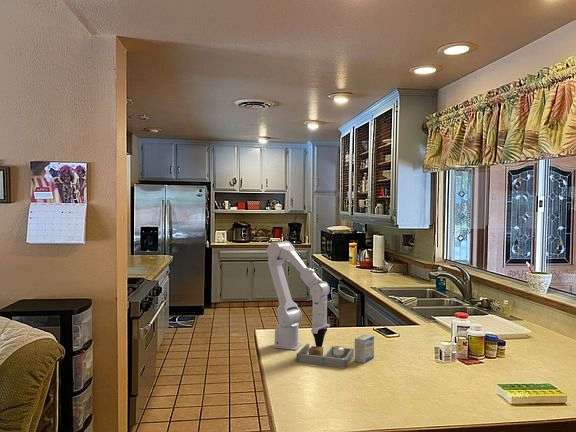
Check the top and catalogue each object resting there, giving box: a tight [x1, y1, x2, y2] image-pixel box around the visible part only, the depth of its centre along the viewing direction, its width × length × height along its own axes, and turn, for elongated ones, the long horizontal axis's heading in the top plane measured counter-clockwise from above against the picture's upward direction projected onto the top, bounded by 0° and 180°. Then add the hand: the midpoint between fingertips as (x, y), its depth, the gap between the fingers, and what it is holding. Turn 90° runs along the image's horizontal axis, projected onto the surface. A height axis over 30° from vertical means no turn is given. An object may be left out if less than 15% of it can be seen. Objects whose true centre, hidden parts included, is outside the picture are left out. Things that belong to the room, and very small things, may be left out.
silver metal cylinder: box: [332, 345, 345, 359], centre depth 173 cm, size 4×4×5 cm
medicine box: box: [354, 334, 375, 364], centre depth 175 cm, size 8×4×9 cm, turn 143°
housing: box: [296, 343, 355, 369], centre depth 174 cm, size 19×14×3 cm
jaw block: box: [308, 345, 324, 356], centre depth 175 cm, size 4×4×4 cm
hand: (319, 346), depth 181 cm, fingers closed
